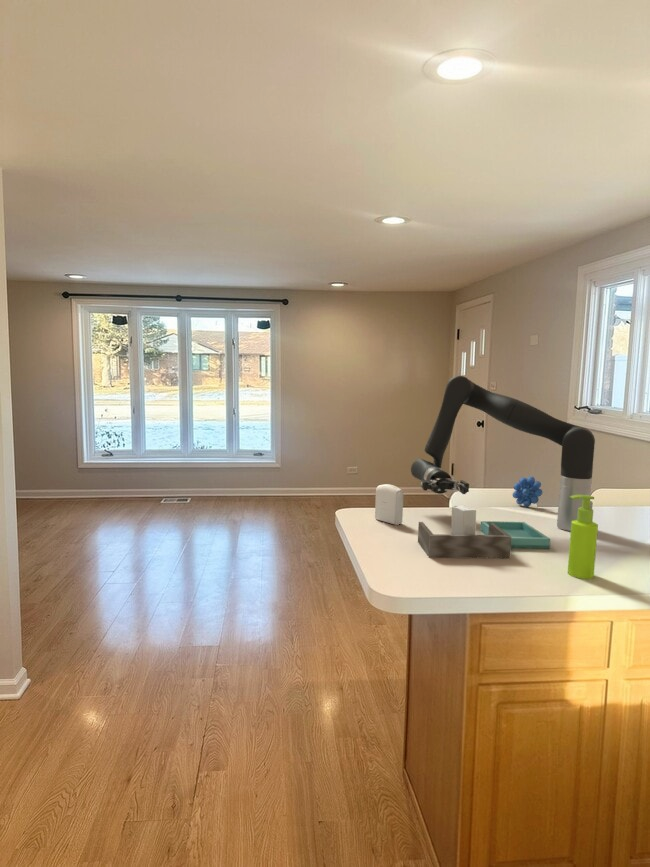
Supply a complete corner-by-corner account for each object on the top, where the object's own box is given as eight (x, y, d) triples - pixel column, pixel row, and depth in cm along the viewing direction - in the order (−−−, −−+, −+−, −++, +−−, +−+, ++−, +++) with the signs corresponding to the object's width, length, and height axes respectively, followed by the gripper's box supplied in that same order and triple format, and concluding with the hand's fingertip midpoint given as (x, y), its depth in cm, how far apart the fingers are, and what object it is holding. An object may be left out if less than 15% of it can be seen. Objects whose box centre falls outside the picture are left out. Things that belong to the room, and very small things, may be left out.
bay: (491, 542, 157) (493, 523, 156) (509, 558, 144) (511, 536, 143) (417, 541, 156) (418, 521, 155) (428, 557, 142) (430, 535, 142)
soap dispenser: (559, 570, 135) (564, 492, 133) (585, 570, 136) (591, 493, 134) (571, 579, 130) (578, 498, 128) (598, 578, 130) (605, 498, 128)
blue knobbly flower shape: (546, 508, 203) (548, 477, 202) (537, 510, 199) (540, 479, 198) (517, 502, 212) (519, 472, 211) (508, 504, 207) (511, 474, 206)
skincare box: (475, 552, 148) (478, 509, 146) (461, 554, 146) (464, 510, 145) (462, 546, 153) (464, 504, 152) (449, 547, 152) (451, 505, 151)
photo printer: (372, 519, 180) (374, 483, 179) (381, 517, 183) (383, 481, 182) (395, 526, 172) (396, 488, 171) (404, 524, 175) (405, 487, 174)
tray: (523, 531, 171) (524, 521, 170) (549, 548, 153) (550, 538, 153) (480, 530, 170) (480, 521, 170) (501, 548, 152) (502, 538, 152)
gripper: (416, 467, 176) (428, 477, 160) (459, 469, 177) (475, 479, 161) (415, 490, 177) (426, 501, 161) (457, 491, 178) (473, 503, 162)
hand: (450, 490), depth 161 cm, fingers open, 8 cm apart
